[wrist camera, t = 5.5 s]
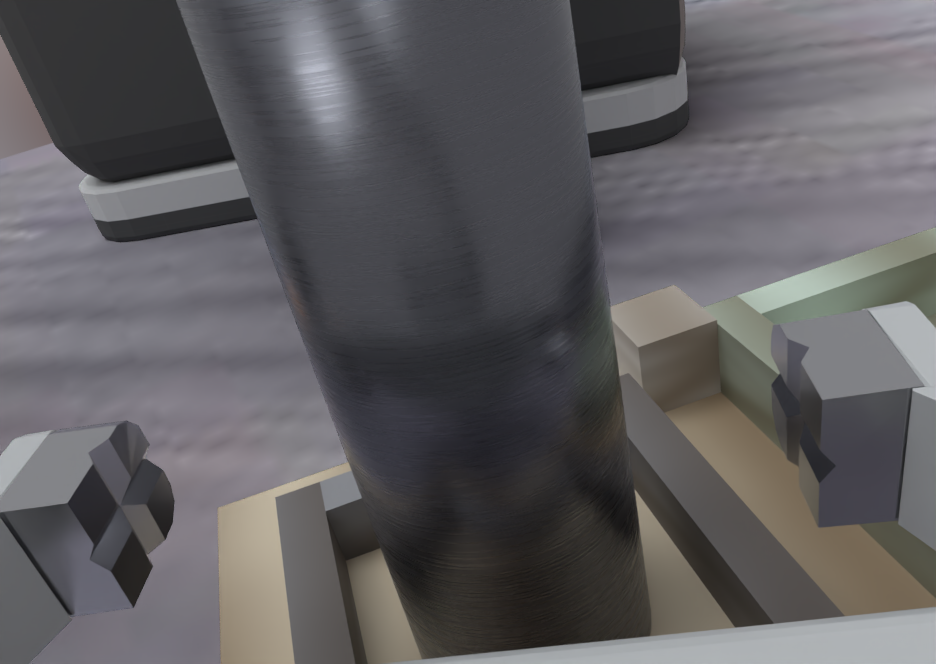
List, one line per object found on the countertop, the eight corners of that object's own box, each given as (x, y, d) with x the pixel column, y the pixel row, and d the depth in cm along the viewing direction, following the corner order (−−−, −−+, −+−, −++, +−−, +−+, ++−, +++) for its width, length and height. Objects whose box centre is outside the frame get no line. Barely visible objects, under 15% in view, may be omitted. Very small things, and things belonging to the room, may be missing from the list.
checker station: (276, 1286, 10) (156, 1204, 8) (238, 549, 21) (184, 443, 19) (1677, 601, 13) (1826, 427, 11) (999, 276, 24) (1017, 161, 22)
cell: (453, 770, 13) (118, -103, 7) (399, 577, 17) (149, -104, 10) (697, 669, 14) (613, -223, 7) (592, 505, 17) (474, -183, 11)
